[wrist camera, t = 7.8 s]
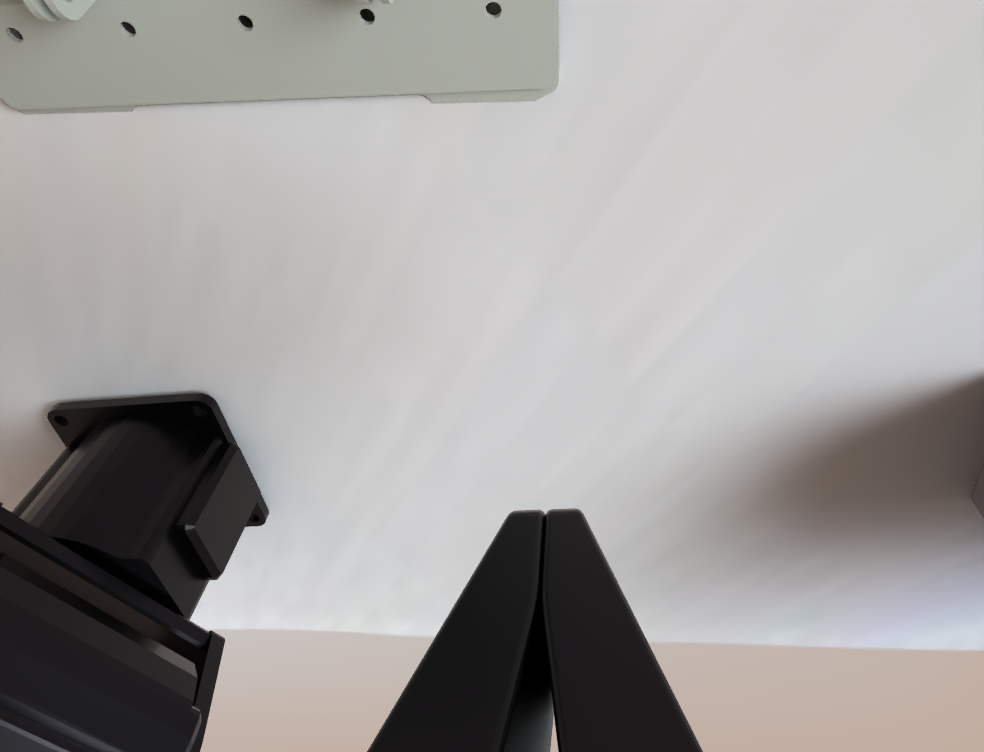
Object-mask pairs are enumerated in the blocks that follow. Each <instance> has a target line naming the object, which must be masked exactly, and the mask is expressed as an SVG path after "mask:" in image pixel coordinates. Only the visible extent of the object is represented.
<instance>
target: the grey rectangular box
mask: <svg viewBox="0 0 984 752" xmlns="http://www.w3.org/2000/svg"><path fill="white" fill-rule="evenodd" d="M971 499H972V501H973V502H974V504H975V505H976V507H977V508H978V510H979V512H980V513H981V515H982V516H983V518H984V464H983V466H982V469H981V472H980V474H979V477H978V480H977V483H976V485H975V488H974V491H973V494H972V496H971Z"/></svg>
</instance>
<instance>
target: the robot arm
mask: <svg viewBox="0 0 984 752" xmlns="http://www.w3.org/2000/svg"><path fill="white" fill-rule="evenodd" d="M199 406H201V407H203V408H204V409H205V410H204V409H202V408H200V407H199ZM47 418H48V420H49V422H50V423H51V425H52V426H53V428H54V429H55V431H56V432H57V434H58V435H59V437H60V438H61V440H62V441H63V443H64V444H65V446H66V447H67V448H66V449H65V451H64V452H63V453H62V454H61V455H60V456H59V458H58V459H57V460H56V461H55V462H54V464H53V465H52V466H51V467H50V468H49V469H48V471H47V472H46V473H45V474H44V475H43V476H42V478H41V479H40V480H39V481H38V482H37V483H36V485H35V486H34V487H33V488H32V489H31V490H30V492H29V493H28V494H27V495H26V496H25V498H24V499H23V500H22V501H21V502H20V503H19V505H18V506H17V507H16V508H15V509H14V510H13V512H12V513H11V512H10V511H8V510H6V509H5V508H3V507H1V506H2V505H3V503H1V502H0V752H200V749H201V746H202V742H203V738H204V733H205V729H206V725H207V719H208V716H209V711H210V706H211V702H212V697H213V693H214V688H215V683H216V679H217V675H218V670H219V665H220V661H221V656H222V652H223V647H224V643H225V638H223V637H221V636H220V635H218V634H217V633H215V632H213V631H209V632H208V631H206V630H204V629H203V628H201V627H199V626H198V625H196V624H195V623H193V622H191V621H190V618H191V616H192V614H193V612H194V610H195V608H196V606H197V604H198V602H199V600H200V598H201V596H202V594H203V592H204V590H205V588H206V586H207V584H208V582H209V580H217V579H218V578H219V577H220V576H221V574H222V573H223V571H224V569H225V567H226V565H227V563H228V561H229V559H230V557H231V555H232V553H233V551H234V549H235V547H236V544H237V542H238V540H239V538H240V536H241V534H242V532H243V530H244V528H245V527H248V526H261V525H263V524H264V523H265V521H266V519H267V517H268V515H269V510H268V508H267V506H266V504H265V502H264V499H263V497H262V495H261V492H260V489H259V487H258V485H257V483H256V481H255V479H254V477H253V475H252V473H251V471H250V469H249V467H248V464H247V462H246V460H245V458H244V456H243V454H242V452H241V450H240V448H239V447H238V445H237V443H236V441H235V439H234V437H233V435H232V433H231V431H230V429H229V427H228V425H227V422H226V420H225V418H224V416H223V414H222V412H221V410H220V408H219V406H218V404H217V402H216V401H215V400H214V399H213V398H212V397H210V396H208V395H206V394H185V395H171V396H156V397H142V398H128V399H114V400H100V401H86V402H72V403H60V404H57V405H56V406H55V407H54V408H53V409H52V410H51V411H50V412H49V413H48V417H47ZM553 715H554V717H555V725H556V733H557V742H558V750H559V752H703V751H702V749H701V747H700V745H699V743H698V741H697V739H696V737H695V735H694V733H693V731H692V729H691V727H690V725H689V723H688V721H687V719H686V717H685V715H684V713H683V711H682V709H681V707H680V705H679V703H678V701H677V699H676V698H675V695H674V693H673V692H672V689H671V687H670V685H669V684H668V682H667V680H666V677H665V676H664V674H663V672H662V670H661V668H660V666H659V664H658V662H657V660H656V658H655V656H654V654H653V652H652V650H651V648H650V646H649V644H648V642H647V640H646V638H645V636H644V634H643V632H642V630H641V628H640V626H639V624H638V622H637V620H636V618H635V616H634V614H633V612H632V610H631V608H630V606H629V604H628V602H627V600H626V598H625V596H624V594H623V592H622V590H621V588H620V586H619V584H618V582H617V580H616V578H615V576H614V574H613V572H612V570H611V568H610V566H609V564H608V562H607V560H606V558H605V556H604V554H603V552H602V550H601V548H600V546H599V544H598V542H597V540H596V538H595V536H594V534H593V532H592V530H591V528H590V526H589V524H588V522H587V520H586V518H585V516H584V514H583V513H582V512H581V511H580V510H579V509H552V510H549V511H548V512H547V513H546V515H545V513H544V512H543V511H541V510H523V511H513V512H511V513H510V514H509V515H508V516H507V518H506V519H505V521H504V523H503V524H502V526H501V528H500V530H499V531H498V533H497V535H496V536H495V538H494V540H493V541H492V543H491V545H490V546H489V548H488V550H487V551H486V553H485V555H484V556H483V558H482V560H481V561H480V563H479V565H478V566H477V568H476V570H475V571H474V573H473V575H472V577H471V578H470V580H469V582H468V583H467V585H466V587H465V588H464V590H463V592H462V593H461V595H460V597H459V598H458V600H457V602H456V603H455V605H454V607H453V608H452V610H451V612H450V613H449V615H448V617H447V619H446V620H445V622H444V624H443V625H442V627H441V629H440V630H439V632H438V634H437V635H436V637H435V639H434V640H433V642H432V644H431V645H430V647H429V649H428V650H427V652H426V654H425V656H424V657H423V659H422V661H421V662H420V664H419V666H418V667H417V669H416V671H415V672H414V674H413V676H412V677H411V679H410V681H409V682H408V684H407V686H406V687H405V689H404V691H403V692H402V694H401V696H400V698H399V699H398V701H397V702H396V704H395V706H394V708H393V709H392V711H391V713H390V714H389V716H388V718H387V719H386V721H385V723H384V725H383V726H382V728H381V729H380V731H379V733H378V734H377V736H376V738H375V739H374V741H373V743H372V744H371V746H370V748H369V750H368V751H367V752H550V747H551V736H552V726H553Z"/></svg>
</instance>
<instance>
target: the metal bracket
mask: <svg viewBox="0 0 984 752" xmlns="http://www.w3.org/2000/svg"><path fill="white" fill-rule="evenodd" d="M490 2H496V3H498V4H499V5H500V6H501V9H502V10H501V12H500V13H499V14H497V15H491V14H489V13H488V12H487V10H486V5H487V4H488V3H490ZM362 9H369V10H371V11H372V12H373V14H374V16H375V19H374V20H373V21H370V22H369V21H365V20H364V19H363V18H362V17H361V15H360V11H361V10H362ZM241 15H244V16H247V17H248V18H250V19H251V21H252V23H253V27H251V28H248V27H245V26H244V25H242V24H241V22H240V20H239V16H241ZM123 21H124V22H128V23H130V24H131V25H132V26H133V27H134V28H135V31H136V33H135V34H133V33H129V32H128V31H126V30H125V28H124V27H123V24H122V22H123ZM9 27H10V28H14V29H16V30H17V31H19V33H20V34H21V35H22V37H23V39H18V38H17V37H15V36H14V35H13V34H12V33H11V32H10V29H9ZM558 81H559V1H558V0H0V97H1V99H2V100H3V101H4V102H5V103H6V104H7V105H8V106H10V107H12V108H14V109H17V110H18V111H20V112H22V113H25V114H50V113H88V112H127V111H133V109H134V107H136V106H139V105H160V104H185V103H210V102H235V101H261V100H286V99H311V98H336V97H361V96H386V95H411V94H419V95H424V96H426V97H427V98H428V99H430V100H431V103H432V104H437V103H476V102H514V101H535V100H537V99H539V98H541V97H543V96H545V95H547V94H549V93H551V92H552V91H554V90H555V89H556V87H557V86H558Z"/></svg>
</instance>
